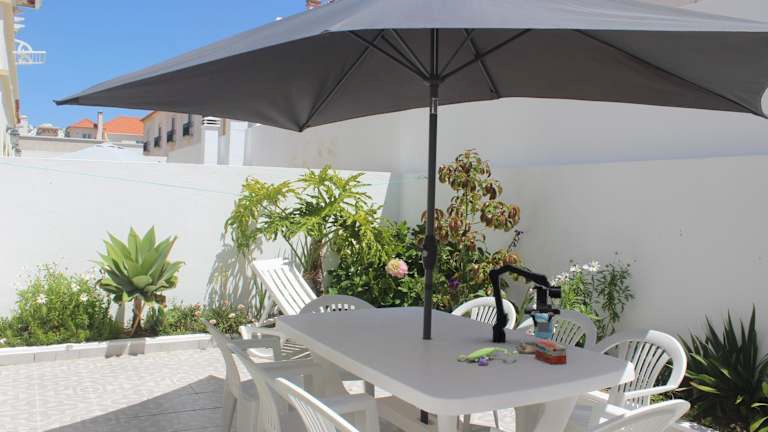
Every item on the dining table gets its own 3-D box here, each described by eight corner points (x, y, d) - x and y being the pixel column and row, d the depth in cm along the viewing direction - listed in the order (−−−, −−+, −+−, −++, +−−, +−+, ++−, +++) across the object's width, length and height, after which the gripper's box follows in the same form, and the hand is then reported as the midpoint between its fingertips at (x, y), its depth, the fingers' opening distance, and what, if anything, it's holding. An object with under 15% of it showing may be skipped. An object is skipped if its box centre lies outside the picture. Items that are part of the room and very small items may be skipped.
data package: (552, 338, 369) (552, 316, 369) (545, 339, 368) (545, 317, 367) (540, 334, 380) (540, 313, 380) (533, 335, 379) (533, 314, 379)
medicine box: (566, 363, 311) (566, 346, 311) (551, 364, 308) (551, 347, 308) (548, 356, 325) (549, 340, 325) (534, 357, 322) (534, 341, 322)
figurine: (522, 362, 314) (522, 350, 313) (475, 368, 302) (475, 355, 302) (499, 354, 330) (499, 343, 330) (453, 359, 318) (453, 347, 318)
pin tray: (519, 353, 330) (519, 345, 330) (516, 347, 346) (516, 339, 346) (552, 354, 328) (552, 346, 328) (547, 347, 344) (547, 339, 344)
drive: (538, 331, 348) (538, 322, 348) (533, 328, 358) (533, 318, 358) (549, 331, 348) (549, 322, 348) (544, 328, 358) (544, 319, 358)
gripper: (525, 299, 346) (525, 329, 346) (562, 300, 344) (562, 330, 344) (523, 296, 357) (522, 325, 357) (558, 297, 355) (558, 326, 356)
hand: (541, 327), depth 353 cm, fingers closed on drive, 6 cm apart
